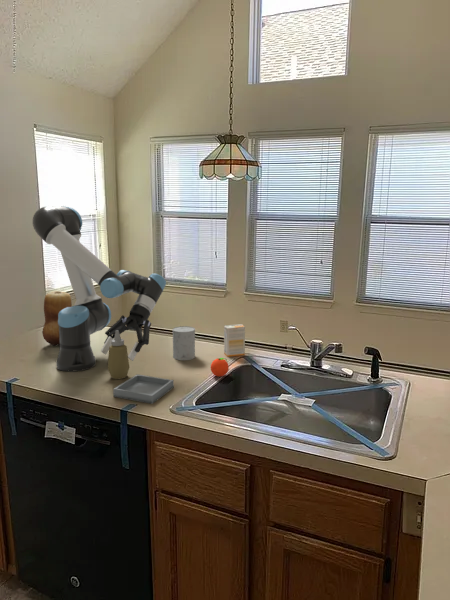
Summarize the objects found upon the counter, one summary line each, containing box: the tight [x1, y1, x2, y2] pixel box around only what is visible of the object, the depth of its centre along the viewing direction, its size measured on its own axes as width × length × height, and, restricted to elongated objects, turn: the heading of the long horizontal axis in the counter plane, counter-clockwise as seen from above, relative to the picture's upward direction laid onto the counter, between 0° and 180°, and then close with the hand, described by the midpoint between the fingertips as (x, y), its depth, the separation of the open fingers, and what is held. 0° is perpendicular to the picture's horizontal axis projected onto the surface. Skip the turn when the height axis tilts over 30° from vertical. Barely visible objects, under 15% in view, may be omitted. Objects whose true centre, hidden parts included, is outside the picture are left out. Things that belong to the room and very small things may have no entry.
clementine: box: [210, 357, 230, 377], centre depth 176 cm, size 8×7×7 cm
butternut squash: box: [41, 290, 72, 347], centre depth 211 cm, size 14×13×25 cm
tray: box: [112, 373, 175, 405], centre depth 160 cm, size 15×15×3 cm
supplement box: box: [223, 323, 246, 358], centre depth 200 cm, size 8×5×13 cm, turn 108°
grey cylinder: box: [172, 325, 196, 361], centre depth 197 cm, size 10×10×12 cm
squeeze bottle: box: [107, 330, 130, 380], centre depth 172 cm, size 8×8×18 cm
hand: (116, 355), depth 171 cm, fingers open, 13 cm apart
